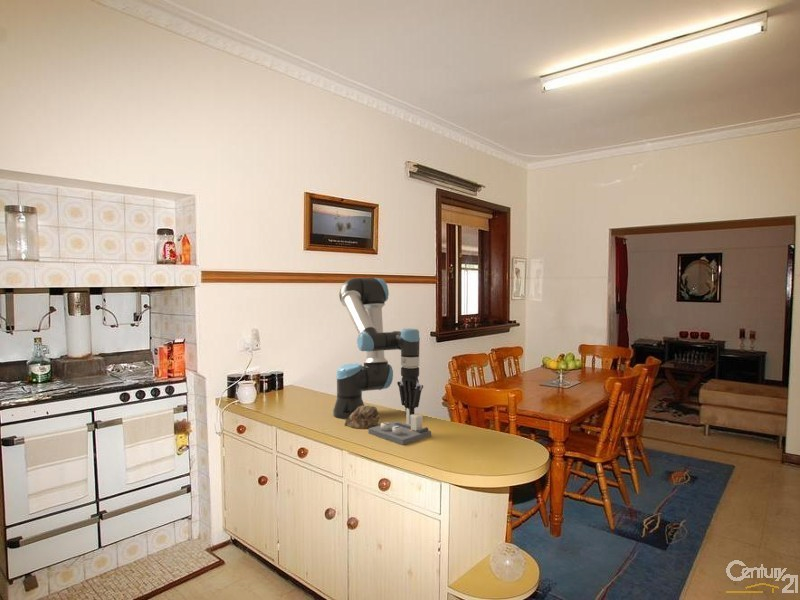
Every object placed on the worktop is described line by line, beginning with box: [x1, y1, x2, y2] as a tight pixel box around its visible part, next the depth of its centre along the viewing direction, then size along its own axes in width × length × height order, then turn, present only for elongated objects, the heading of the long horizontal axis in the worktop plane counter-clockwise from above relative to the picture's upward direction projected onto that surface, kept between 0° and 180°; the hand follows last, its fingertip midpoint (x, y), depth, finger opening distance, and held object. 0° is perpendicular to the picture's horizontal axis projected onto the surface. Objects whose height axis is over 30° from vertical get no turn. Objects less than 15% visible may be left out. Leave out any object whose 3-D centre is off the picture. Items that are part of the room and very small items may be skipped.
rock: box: [343, 405, 380, 430], centre depth 206 cm, size 14×9×10 cm
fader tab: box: [410, 412, 424, 431], centre depth 193 cm, size 3×4×6 cm
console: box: [367, 420, 432, 446], centre depth 193 cm, size 20×16×5 cm
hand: (409, 423), depth 196 cm, fingers closed
